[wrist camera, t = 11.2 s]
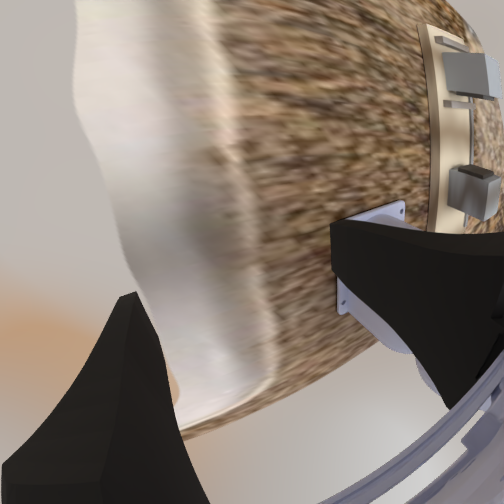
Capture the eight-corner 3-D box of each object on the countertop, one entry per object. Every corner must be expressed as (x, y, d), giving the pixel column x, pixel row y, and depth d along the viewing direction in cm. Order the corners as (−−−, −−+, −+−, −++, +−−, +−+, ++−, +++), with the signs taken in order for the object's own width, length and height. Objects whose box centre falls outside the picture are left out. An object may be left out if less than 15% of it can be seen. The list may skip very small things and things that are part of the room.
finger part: (464, 96, 21) (502, 102, 17) (447, 93, 20) (489, 99, 16) (459, 58, 19) (498, 61, 14) (441, 52, 18) (484, 53, 13)
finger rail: (458, 228, 30) (494, 247, 25) (424, 247, 28) (466, 271, 23) (454, 39, 19) (499, 41, 14) (416, 24, 17) (470, 20, 12)
